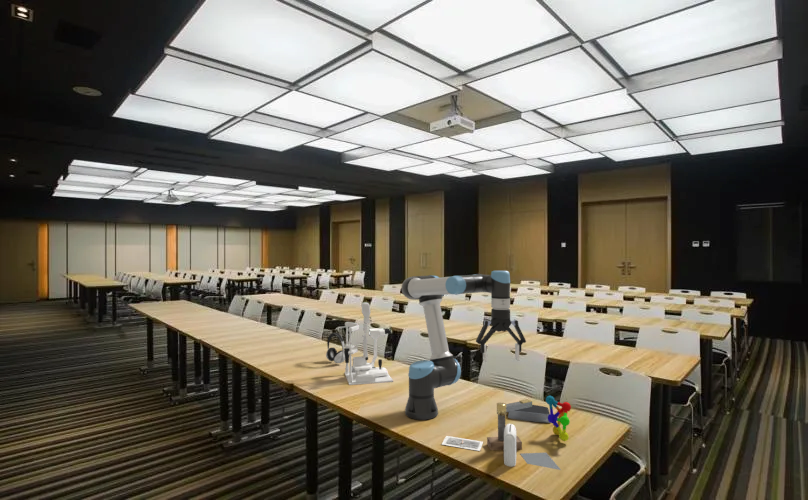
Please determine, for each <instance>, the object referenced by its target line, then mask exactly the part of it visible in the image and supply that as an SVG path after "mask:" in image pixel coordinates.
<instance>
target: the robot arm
mask: <svg viewBox="0 0 808 500" xmlns="http://www.w3.org/2000/svg"><path fill="white" fill-rule="evenodd" d="M401 292H402V295H404V297H405V298H407V299H409V300H413V301H414V300H415V301H416V300H417V301H419V305H420V306H421V307H423V312H424V314H423V315H424V320H425V324H426V330H427V334H428V340H429V345H430V347H429V348H430V353H431V356H430V357H429V360H427V359H424V360H417V361H415V362H414V361H413V362H412V363H411V364H410V365H409V367H408V373H407V375H408V398H407V402H406V405H405V409H404V411H405V412H404V413H405V416H406V417H408V418H409V419H413V420H418V421H419V420H421V421H422V420H423V421H424V420H430V419H433V418H436V417H437V416H439V415H438V414H439V412H438V411H439V410H438V409H439V408H438V406H437V402H436V399H435V389H438V388H441V387H446V386H451V385H453V384H456V383H458V381H459V380H460V378H461V374H462V370H461V369H462V368H461V365H460V362H459V361H458V359H456V358H454V354H452V353H451V352H450V350H449V344H448V338H447V334H446V328H445V323H444V318H443V314H442V313H443V312H442V307H441V306H442V305H441V303H442V301H443V297H444V295H464V294H476V293H489V294H490V295H491V296H490V297H491V298H490V299H491V301H490V303H491V304H490V306H491V310H490V311H491V315H490V317H491V318H490V320H487V319H484V320H483V325H482V327H481V329H480V331H479V332H478V333H479V334H478V335H477V337H476V340H475V342H476V344H478V345H480V348H479V349H480V353H481V354H482V361H484V362H487V345H486V343H487V342H488V341H489V339H490V338H491V337H492V336H493V334H495V333H496V332H502V333H503V332H504V333H505V332H507V333H509V335H510V336H511V338H513V339H514V341H515V343H514V347H515V348H514V351H515V352H514V357H515V358H514V359H515V360H516V361H517V362H518V361H520V353H521V352H522V345H523V344H525V343H526V342H527V340H526V338H525V336H524V334H523V332H522V330H521V328H520V326H519V321H518V319H515V318H514V319H512V320H511V309H510V308H511V275H510V272H509V271H508V270H493V271H492V270H491V273H490V274H482V273H476V274H469V275H468V274H467V275H453V276H445V277H444V276H443V277H439V276H438V275H431V274H429V275H413V276H410V277H407V278H406V279H404V280H403V282H402V284H401ZM490 325H491V328H490V329H489V330H488V327H489V326H490ZM510 326H513V328H514V329H515V331H516V333H514V331H513V330H512V329H511V328H510ZM487 330H488V332H487V333H486V331H487ZM516 334H517V335H518V336H517V335H516Z"/></svg>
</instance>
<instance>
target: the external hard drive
mask: <svg viewBox="0 0 808 500" xmlns="http://www.w3.org/2000/svg"><path fill="white" fill-rule="evenodd" d="M549 414H550V408H549V407H547V406H542V405H538V404H532V407H528V408H523V409H519V410H514V411H509V412H507V418H508V419H511V420H517V421H527V422H536V423H547V424H548V423H549V424H550V422H549V421H548V415H549Z"/></svg>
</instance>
